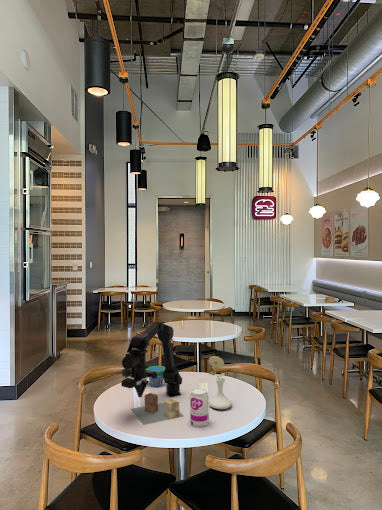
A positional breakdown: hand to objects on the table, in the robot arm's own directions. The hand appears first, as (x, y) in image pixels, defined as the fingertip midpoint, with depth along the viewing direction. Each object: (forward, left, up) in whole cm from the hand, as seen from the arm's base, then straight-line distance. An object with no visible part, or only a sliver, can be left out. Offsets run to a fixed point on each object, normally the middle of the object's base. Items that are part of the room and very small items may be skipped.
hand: (139, 397), depth 178 cm
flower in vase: (-40, +4, -10) cm, 41 cm away
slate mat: (-9, -2, -10) cm, 14 cm away
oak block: (-14, +5, -9) cm, 18 cm away
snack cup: (-23, -40, -10) cm, 47 cm away
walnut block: (-7, -4, -9) cm, 12 cm away
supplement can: (-22, +18, -10) cm, 30 cm away
